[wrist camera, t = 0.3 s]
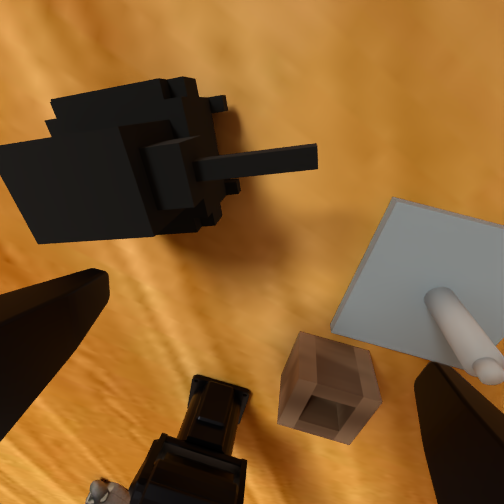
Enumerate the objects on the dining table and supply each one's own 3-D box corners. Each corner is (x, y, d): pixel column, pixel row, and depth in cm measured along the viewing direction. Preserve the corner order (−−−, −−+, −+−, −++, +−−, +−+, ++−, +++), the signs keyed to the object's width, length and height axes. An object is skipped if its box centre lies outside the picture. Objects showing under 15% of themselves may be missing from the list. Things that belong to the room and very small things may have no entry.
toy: (314, 192, 19) (322, 265, 11) (134, 208, 22) (27, 276, 14) (309, 64, 16) (315, 23, 7) (97, 103, 19) (-76, 106, 10)
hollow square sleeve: (342, 392, 29) (349, 445, 24) (281, 375, 29) (277, 423, 24) (369, 350, 25) (382, 402, 21) (299, 331, 26) (298, 378, 21)
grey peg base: (464, 361, 24) (527, 463, 17) (330, 324, 25) (340, 409, 18) (573, 243, 18) (732, 328, 11) (392, 196, 19) (443, 251, 12)
